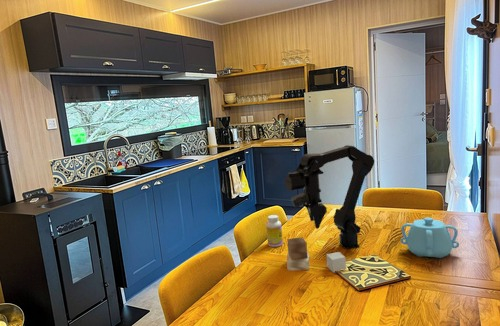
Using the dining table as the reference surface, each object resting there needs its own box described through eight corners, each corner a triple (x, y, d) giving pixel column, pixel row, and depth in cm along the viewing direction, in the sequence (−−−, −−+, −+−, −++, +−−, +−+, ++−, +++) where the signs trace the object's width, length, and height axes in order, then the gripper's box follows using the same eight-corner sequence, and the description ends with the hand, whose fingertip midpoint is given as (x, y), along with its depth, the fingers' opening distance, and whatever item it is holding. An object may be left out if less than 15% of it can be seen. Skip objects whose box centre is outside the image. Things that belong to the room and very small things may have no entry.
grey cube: (339, 264, 138) (338, 251, 137) (346, 270, 133) (345, 257, 132) (327, 267, 137) (326, 254, 136) (333, 272, 132) (332, 259, 131)
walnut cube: (303, 251, 143) (302, 237, 142) (307, 257, 137) (306, 242, 136) (288, 253, 143) (287, 239, 142) (291, 260, 137) (290, 244, 136)
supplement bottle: (282, 247, 159) (279, 218, 157) (266, 247, 160) (264, 219, 158) (283, 241, 165) (281, 213, 163) (269, 241, 167) (266, 214, 165)
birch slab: (308, 261, 144) (308, 251, 143) (309, 270, 136) (308, 260, 135) (288, 261, 145) (287, 252, 144) (287, 271, 137) (286, 261, 136)
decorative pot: (432, 241, 150) (432, 209, 148) (464, 256, 134) (463, 220, 132) (397, 248, 146) (396, 216, 144) (425, 265, 131) (424, 228, 129)
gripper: (287, 183, 153) (290, 219, 155) (295, 194, 135) (298, 235, 137) (314, 180, 153) (316, 216, 156) (325, 191, 135) (328, 231, 137)
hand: (314, 224), depth 147 cm, fingers open, 9 cm apart
